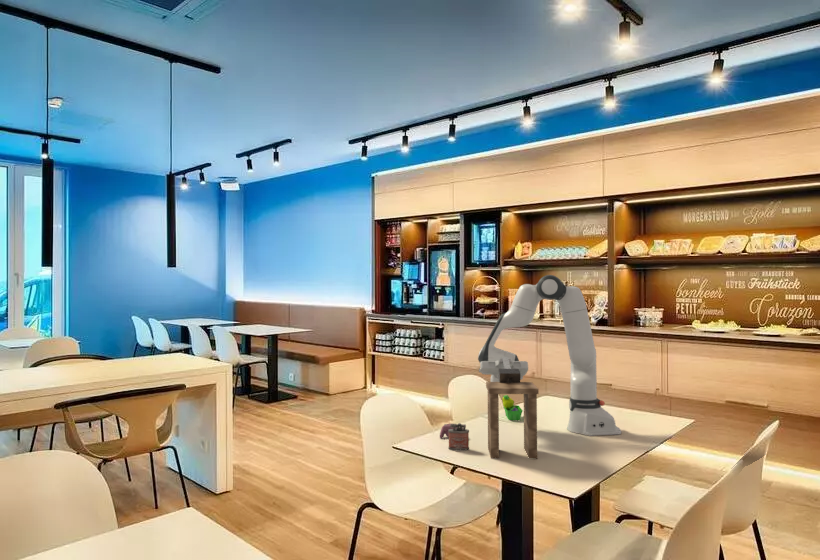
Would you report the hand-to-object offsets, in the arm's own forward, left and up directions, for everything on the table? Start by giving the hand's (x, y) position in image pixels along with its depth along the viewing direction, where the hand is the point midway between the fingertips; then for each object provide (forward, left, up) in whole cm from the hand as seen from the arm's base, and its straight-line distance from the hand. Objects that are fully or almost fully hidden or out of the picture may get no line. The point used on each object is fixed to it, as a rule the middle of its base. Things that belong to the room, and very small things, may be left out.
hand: (505, 360), depth 225 cm
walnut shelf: (0, +19, -33) cm, 38 cm away
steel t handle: (0, +5, -4) cm, 6 cm away
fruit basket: (-7, -37, -33) cm, 50 cm away
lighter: (+20, +14, -33) cm, 41 cm away
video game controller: (+22, -2, -33) cm, 40 cm away
